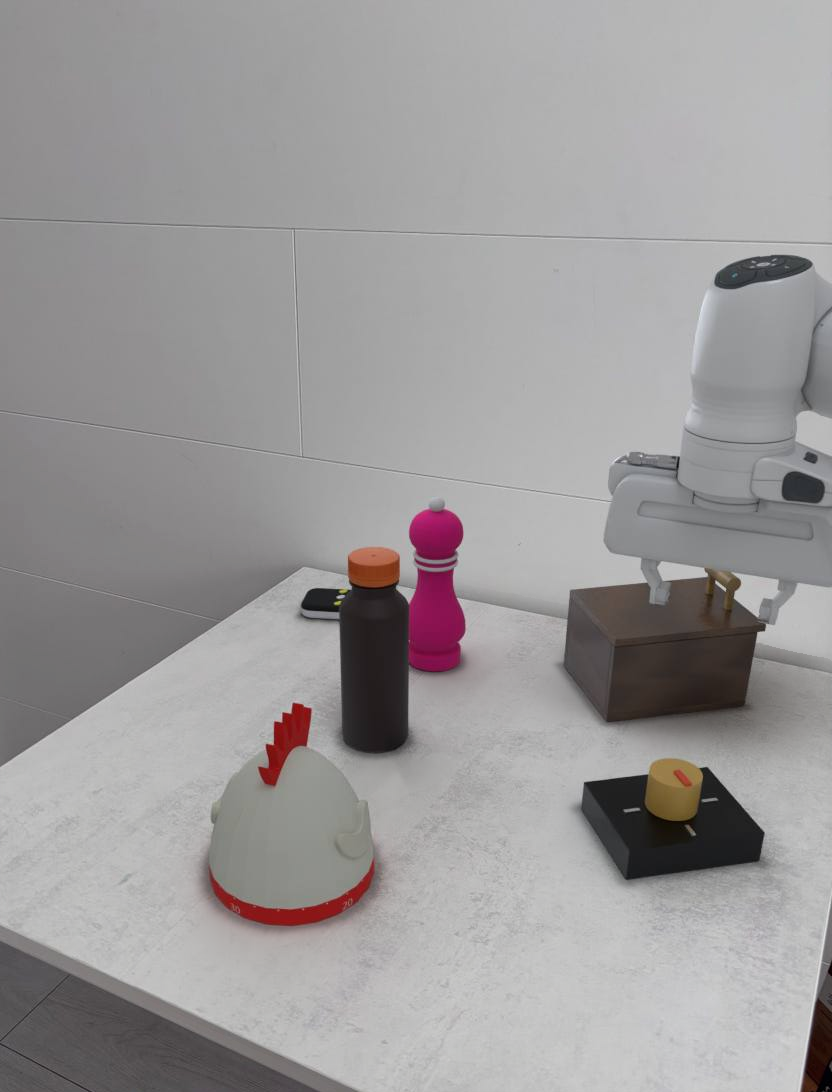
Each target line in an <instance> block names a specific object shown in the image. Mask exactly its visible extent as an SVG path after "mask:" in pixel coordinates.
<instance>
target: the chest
mask: <svg viewBox="0 0 832 1092" xmlns="http://www.w3.org/2000/svg"><path fill="white" fill-rule="evenodd" d="M568 598H569V599H568V608H567V609H568V610H567V620H566V632H565V646H564V656H563V667H564V668H565V670H566V671H567V673H569V675H570V676H571V677H572V679H573V680H574V682H576V684H577V685H578V687H579V688H580V689H581V690H582V692H583V693H584V694H585V696H586V697H587V698H588V700H589V701H590V702H591V704H592V705H593V707H594V708H595V709H596V710H597V711H598V713H599V714H600V715H601V717H602V718H603V719H604V720H605V722H607V723H608V722H618V721H625V720H634V719H643V718H653V717H659V716H668V715H669V716H670V715H678V714H688V713H695V712H704V711H712V710H720V709H721V710H722V709H729V708H738V707H744V706H745V704H746V699H747V694H748V688H749V684H750V683H749V682H750V678H751V672H752V666H753V660H754V655H755V649H756V645H757V644H756V643H757V639H758V633H759V632H754V633H744V634H734V635H725V636H715V637H705V638H696V639H686V640H676V641H667V642H657V643H647V644H638V645H628V646H618V647H615V646H614V645H613V644H612V643H611V642H610V641H609V640H608V639H607V637H606V636H605V635H604V634H603V633H602V632H601V631H600V630H599V629H598V627H597V626H596V625H595V624H594V623H593V622H592V621H591V620H590V618H589V617H588V616H587V615H586V614H585V613H584V612H583V611H582V610H581V608H580V607H579V606H578V605H577V604H576V603H575V602H574V601H573V599H572V598H571V597H570V596H569V597H568Z"/></svg>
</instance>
